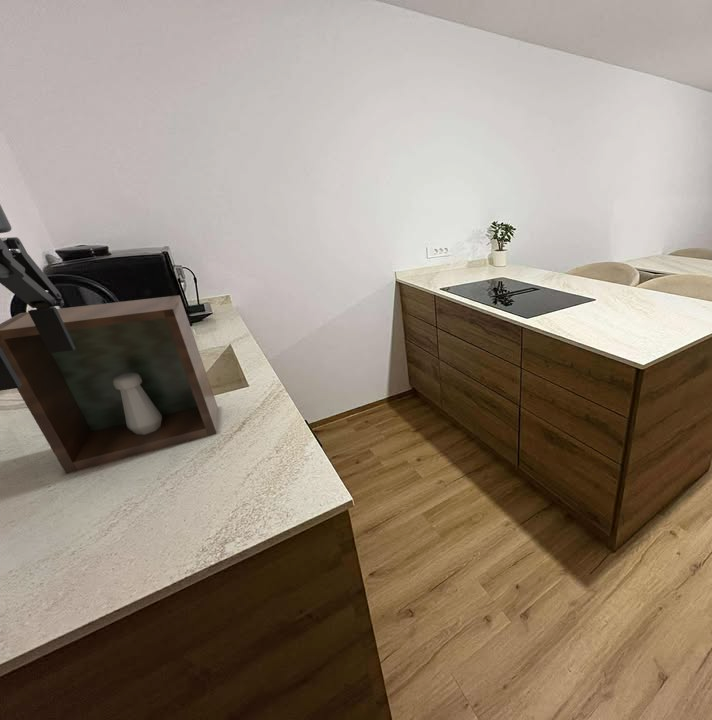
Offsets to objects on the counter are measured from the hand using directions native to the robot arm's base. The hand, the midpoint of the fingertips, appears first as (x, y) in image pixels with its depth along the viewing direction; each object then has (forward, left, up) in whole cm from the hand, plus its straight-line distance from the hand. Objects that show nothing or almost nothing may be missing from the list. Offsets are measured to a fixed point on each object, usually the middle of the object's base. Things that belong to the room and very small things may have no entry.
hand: (37, 368), depth 51 cm
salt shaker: (-12, +22, -25) cm, 35 cm away
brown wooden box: (-12, +22, -27) cm, 37 cm away
